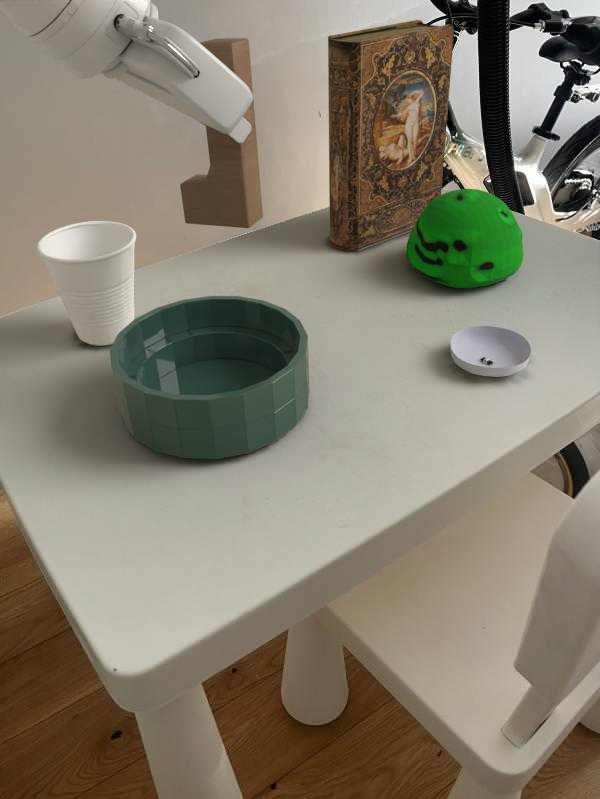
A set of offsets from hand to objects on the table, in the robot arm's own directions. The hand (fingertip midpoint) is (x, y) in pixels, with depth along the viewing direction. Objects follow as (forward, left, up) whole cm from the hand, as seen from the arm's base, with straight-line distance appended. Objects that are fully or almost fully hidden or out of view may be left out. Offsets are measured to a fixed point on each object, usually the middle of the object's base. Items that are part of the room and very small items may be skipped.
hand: (226, 126), depth 63 cm
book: (-17, +31, -23) cm, 42 cm away
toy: (-2, +32, -23) cm, 39 cm away
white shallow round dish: (+15, +20, -23) cm, 34 cm away
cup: (-13, -10, -23) cm, 29 cm away
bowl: (+6, -6, -23) cm, 25 cm away
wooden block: (-1, -1, -9) cm, 9 cm away
